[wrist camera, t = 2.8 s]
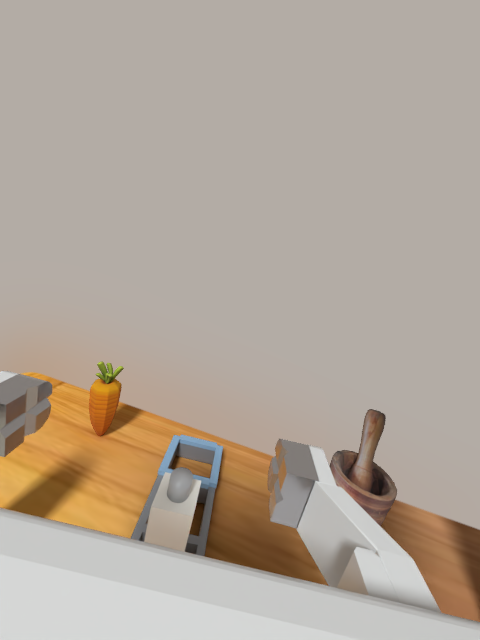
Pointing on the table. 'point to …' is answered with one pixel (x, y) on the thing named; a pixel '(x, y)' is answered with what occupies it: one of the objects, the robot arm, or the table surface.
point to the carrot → (104, 398)
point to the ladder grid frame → (198, 452)
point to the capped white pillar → (173, 510)
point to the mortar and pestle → (366, 471)
